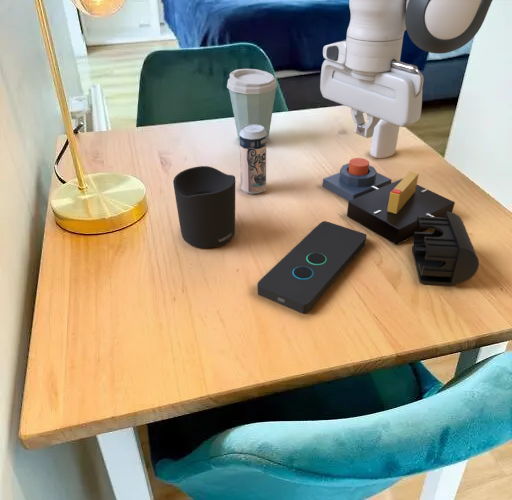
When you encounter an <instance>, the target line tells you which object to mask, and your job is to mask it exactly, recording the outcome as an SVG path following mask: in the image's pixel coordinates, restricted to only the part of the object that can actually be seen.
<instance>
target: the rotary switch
mask: <svg viewBox="0 0 512 500" xmlns="http://www.w3.org/2000/svg"><path fill="white" fill-rule="evenodd" d="M402 179H403V178H401V179H398V180H396V181H393V182H391V184H388V185H386V186H384V187H381V188H377V187H375V186H372V187H373V188H375V189H377V190H374V191H372V192H369V193H367V194H365V195H362V196H360V197H357V198H355V199H353V200H350V201H348V200H347V201H348V203H347V210H346V217H347V218H349V219H351V220H352V221H354V222H355V223H358V224H359V225H360V226H363V227H364V228H366V229H368V230H370V231H371V232H373V233H375V234H376V235H378V236H380V237H381V238H383V239H384V240H387V241H388V242H390V243H392V244H393V245H395V246H398V245H399V244H401V243H403V242H405V241H408V240H410V239H411V238H413V236H414V232H425V231H427V230H429V228H420V226H416V222H417V217H418V216H424V217H445V213H446V211H447V212H452V213H454V208H455V205H456V204H455V203H456V202H455V201H454V200H451V199H449V198H447V197H445V196H442V195H440V194H439V193H437V192H434V191H432V190H430V189H428V188H426V187H423V186H421V185H419V184H417V185H416V190H415V192H414V194H413V195H412V196H411V197H410V198H409V200H408V201H407V202H406V203H405V204H404V206H403V207H402V208H401V209H400V210H399V211H398V213H397V214H395V213H391V212H388V211H387V209H388V203H389V197H390V192H391V191H392V190H393V189H394V188H395V187H396V186H397V185H398V184H399V183H400V182H401V180H402Z"/></svg>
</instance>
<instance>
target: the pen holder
mask: <svg viewBox="0 0 512 500" xmlns="http://www.w3.org/2000/svg"><path fill="white" fill-rule="evenodd" d="M172 183H173V190H174V196H175V203H176V209H177V216H178V222H179V226H180V228H179V229H180V233H181V237H182V239H183V241H185V242H186V243H187V244H188V245H189V246H192V247H195V248H199V249H214V248H218V247H221V246H225V245H226V244H228V243H229V242H230V241H231V240H232V239H233V238H234V237H235V232H236V176H235V175H233V174H228V173H224V172H222V171H221V170H219V169H217V168H215V167H212V166H208V165H203V166H202V165H199V166H194V167H189V168H186V169H184V170H182V171H180V172H179V173H177V174H176V175H175V176H174V177H173V181H172Z"/></svg>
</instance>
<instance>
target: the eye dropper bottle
mask: <svg viewBox="0 0 512 500" xmlns="http://www.w3.org/2000/svg"><path fill="white" fill-rule="evenodd" d="M399 132H400V126H398V125H395V124H393V123H390V122H387V121H385V120H382V119H380V121H379V122H378V123H377V125H376V126H375V127H374V133H373V136H372V137H371V143H370V151H369V155H370V156H371V157H373V158H376V159H384V158H389V157H391V156H393V155H394V154H395V153H396V150H397V145H398V139H399Z"/></svg>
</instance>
